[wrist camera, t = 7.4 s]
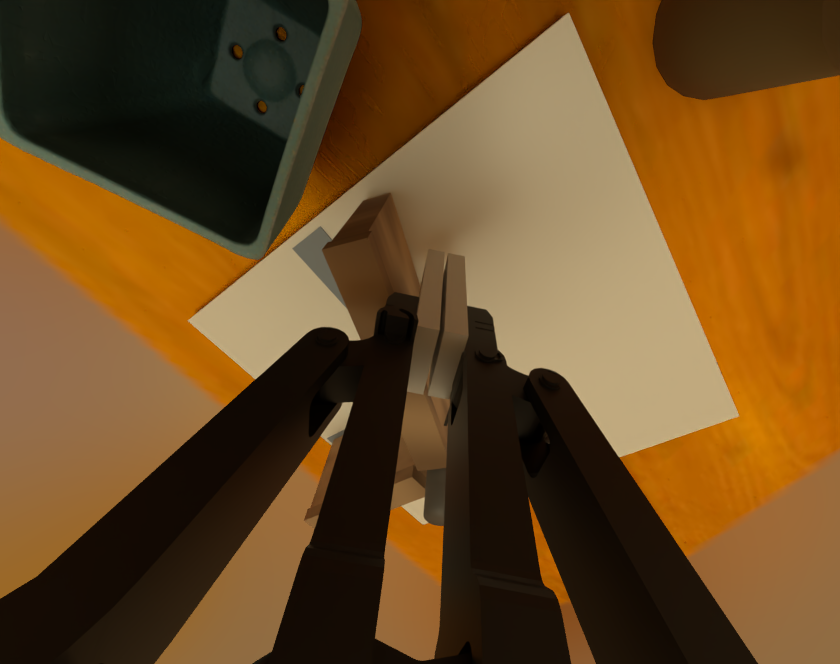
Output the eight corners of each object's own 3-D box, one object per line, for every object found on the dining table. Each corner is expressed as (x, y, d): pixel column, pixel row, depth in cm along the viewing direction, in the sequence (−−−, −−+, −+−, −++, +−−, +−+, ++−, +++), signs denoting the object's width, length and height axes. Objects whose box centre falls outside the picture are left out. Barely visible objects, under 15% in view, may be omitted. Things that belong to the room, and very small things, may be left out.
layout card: (563, 15, 16) (569, 12, 15) (730, 405, 27) (740, 417, 26) (196, 312, 26) (187, 321, 25) (423, 514, 36) (422, 525, 35)
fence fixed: (446, 380, 26) (442, 501, 19) (461, 397, 27) (463, 521, 19) (332, 437, 30) (291, 556, 23) (348, 451, 31) (313, 570, 23)
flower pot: (400, 22, 17) (355, -26, 9) (328, 202, 21) (259, 267, 14) (200, -113, 15) (-52, -304, 8) (167, 114, 20) (-12, 135, 12)
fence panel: (452, 381, 26) (451, 467, 20) (426, 385, 26) (417, 471, 20) (393, 191, 19) (367, 237, 14) (360, 201, 20) (321, 249, 14)
